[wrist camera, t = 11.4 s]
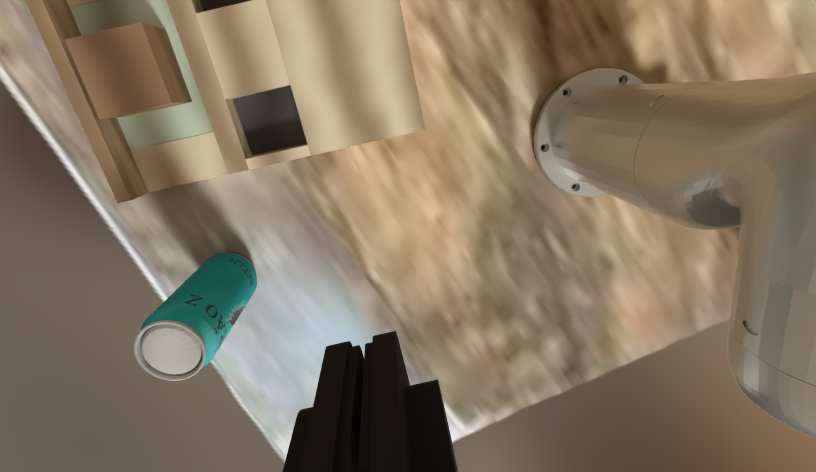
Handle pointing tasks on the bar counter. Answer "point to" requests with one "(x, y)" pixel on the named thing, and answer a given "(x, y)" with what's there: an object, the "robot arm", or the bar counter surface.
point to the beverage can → (195, 318)
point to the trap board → (244, 84)
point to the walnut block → (129, 70)
